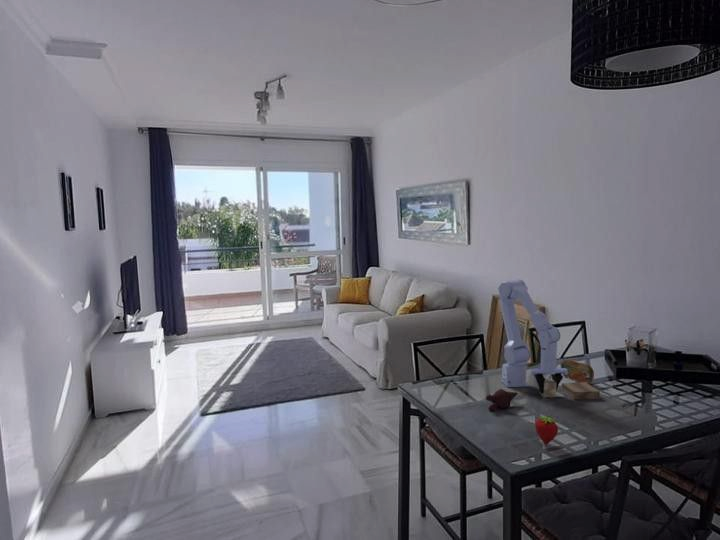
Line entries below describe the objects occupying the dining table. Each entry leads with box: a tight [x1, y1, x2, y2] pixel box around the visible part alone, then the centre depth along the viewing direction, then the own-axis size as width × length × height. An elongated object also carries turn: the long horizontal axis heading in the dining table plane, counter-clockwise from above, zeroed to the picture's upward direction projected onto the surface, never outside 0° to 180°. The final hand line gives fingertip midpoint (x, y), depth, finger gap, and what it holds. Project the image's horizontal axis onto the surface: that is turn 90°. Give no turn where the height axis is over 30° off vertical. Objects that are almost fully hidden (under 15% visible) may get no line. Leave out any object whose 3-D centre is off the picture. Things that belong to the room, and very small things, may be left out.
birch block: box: [539, 378, 557, 399], centre depth 183 cm, size 4×4×6 cm
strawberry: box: [534, 413, 559, 445], centre depth 144 cm, size 6×8×10 cm
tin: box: [560, 359, 595, 384], centre depth 200 cm, size 15×3×8 cm, turn 25°
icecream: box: [485, 388, 519, 412], centre depth 173 cm, size 7×7×15 cm
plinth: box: [561, 382, 601, 400], centre depth 184 cm, size 10×10×3 cm
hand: (547, 392), depth 183 cm, fingers closed on birch block, 4 cm apart
